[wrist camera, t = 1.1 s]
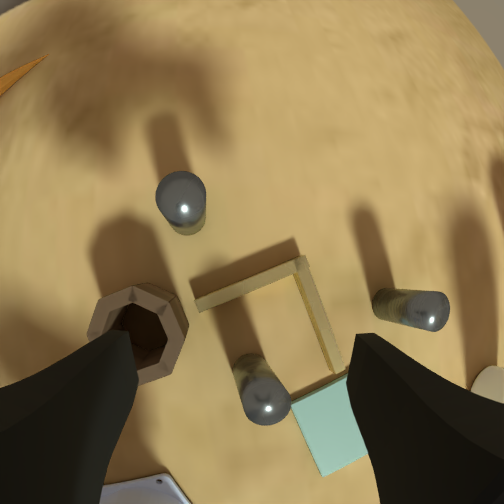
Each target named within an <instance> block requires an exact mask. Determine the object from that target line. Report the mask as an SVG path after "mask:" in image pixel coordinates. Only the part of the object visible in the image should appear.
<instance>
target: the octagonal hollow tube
mask: <svg viewBox="0 0 504 504" xmlns="http://www.w3.org/2000/svg"><path fill="white" fill-rule="evenodd" d="M130 303H135V304H137V305H139V306H141V307H143V308H146V309H148V310H150V311H152V312H154V313H157V314H158V317H159V319H160V321H161V324H162V326H163V328H164V330H165V333H166V335H167V337H168V341H167V344H166V345H165V346H162V347H159V348H157V349H154V350H151V351H148V350H146V349H144V348H142V347H139V346H137V345H135V344H133V343H131V346H132V351H133V356H134V360H135V364H136V369H137V373H138V377H139V383H138V386H139V385H142V384H145V383H148V382H151V381H154V380H156V379H159V378H162V377H165V376H168V375H170V374H172V371H173V369H174V366H175V364H176V361H177V359H178V356H179V354H180V351H181V349H182V346H183V344H184V341H185V338H186V335H187V331H188V328H189V323H188V321H187V319H186V316H185V314H184V312H183V309H182V307H181V304H180V302H179V300H178V297H177V296H176V295H174V294H172V293H170V292H168V291H165V290H163V289H161V288H159V287H156V286H154V285H152V284H150V283H144V284H139V285H133V286H130V287H128V288H125V289H123V290H120V291H118V292H115V293H113V294H111V295H108V296H106V297H103V298H101V299H99V300H98V302H97V305H96V308H95V311H94V313H93V316H92V319H91V322H90V325H89V328H88V331H87V334H88V335H87V337H88V339H89V341H90V342H91V341H93V340H94V339H96V338H98V337H99V336H101V335H103V334H105V333H106V332H108V331H110V330H119V331H125V329H124V327H123V324H122V321H123V319H124V316H125V313H126V310H127V308H128V305H129V304H130Z"/></svg>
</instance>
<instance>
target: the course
mask: <svg viewBox="0 0 504 504" xmlns="http://www.w3.org/2000/svg"><path fill="white" fill-rule="evenodd" d="M156 204H157V206H158V208H159V210H160V211H161V213H162V214H163V216H164V217H165V218H166V220H167V221H168V222H169V224H170V225H171V227H172V228H173V229H174V230H175V231H176V232H177V233H179V234H181V235H193V234H195V233H197V232H199V231H200V230H201V229H202V227H203V226H204V223H205V220H206V189H205V186H204V184H203V182H202V181H201V180H200V178H199V177H197V176H196V175H195V174H193V173H190V172H187V171H177V172H173V173H171V174H169V175H167V176H166V177H164V178H163V179H162V180H161V182H160V183H159V185H158V187H157V190H156ZM309 267H310V266H309V263H308V261H307V258H306V255H302V256H298V257H296V258H294V259H291V260H289V261H286V262H284V263H282V264H279V265H277V266H274V267H272V268H270V269H267V270H265V271H262V272H260V273H258V274H255V275H253V276H250V277H248V278H246V279H243V280H241V281H238V282H236V283H233V284H231V285H228V286H226V287H224V288H221V289H219V290H216V291H214V292H211V293H209V294H206V295H204V296H201V297H199V298H196V299H195V300H194V301H195V304H196V306H197V309H198V311H199V313H200V312H203V311H205V310H208V309H210V308H213V307H215V306H218V305H220V304H222V303H225V302H227V301H230V300H232V299H235V298H237V297H240V296H242V295H244V294H247V293H249V292H252V291H254V290H256V289H259V288H261V287H263V286H266V285H268V284H271V283H273V282H275V281H278V280H280V279H282V278H285V277H287V276H289V275H292V274H293V275H294V278H295V280H296V283H297V285H298V288H299V290H300V293H301V296H302V298H303V301H304V303H305V306H306V309H307V311H308V314H309V316H310V319H311V322H312V324H313V327H314V330H315V332H316V335H317V337H318V340H319V343H320V345H321V348H322V351H323V354H324V356H325V359H326V362H327V364H328V367H329V370H331V371H332V372H333V373H335V374H337V373H339V372H341V371H343V370H345V369H346V368H345V365H344V362H343V359H342V356H341V354H340V351H339V348H338V345H337V342H336V340H335V337H334V334H333V331H332V328H331V326H330V323H329V320H328V317H327V315H326V312H325V309H324V307H323V304H322V301H321V299H320V296H319V293H318V291H317V288H316V285H315V283H314V280H313V278H312V275H311V272H310V270H309ZM372 307H373V312H374V314H375V315H376V317H378V318H379V319H381V320H385V321H389V322H394V323H398V324H402V325H406V326H410V327H414V328H419V329H423V330H427V331H431V332H436V331H439V330H440V329H442V328H443V327H444V325H445V324H446V322H447V320H448V318H449V313H450V304H449V300H448V298H447V296H446V295H445V294H444V293H442V292H438V291H422V290H407V289H392V288H384V289H381V290H380V291H378V292H377V294H376V295H375V297H374V299H373V304H372ZM233 375H234V379H235V382H236V385H237V389H238V392H239V395H240V399H241V402H242V405H243V408H244V412H245V414H246V416H247V417H248V419H249V420H251V421H252V422H253V423H255V424H258V425H273V424H276V423H278V422H280V421H281V420H282V419H284V418H285V417H286V416H287V414H288V413H289V411H290V408H291V397H290V395H289V393H288V391H287V390H286V389H285V387H284V386H283V385H282V383H281V382H280V380H279V379H278V378H277V376H276V375H275V373H274V372H273V371H272V369H271V368H270V366H269V365H268V364H267V362H266V361H265V359H264V358H262V357H261V356H259V355H257V354H246V355H243V356H241V357H240V358H239V359H238V360H237V361H236V362H235V364H234V367H233Z"/></svg>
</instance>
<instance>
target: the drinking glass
mask: <svg viewBox="0 0 504 504" xmlns="http://www.w3.org/2000/svg"><path fill="white" fill-rule="evenodd" d="M471 392H473V393H475V394H478V395H480V396H483V397H486V398H488V399H491V400H494V401H497V402H500V403H504V368H503V367H499V366H494V365H493V366H489V367H486V368H485V369H484V370H482V371H481V373H480V374H479V375H478V376H477V378H476V379H475V381H474V383H473V385H472V388H471Z"/></svg>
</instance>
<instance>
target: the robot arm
mask: <svg viewBox="0 0 504 504" xmlns="http://www.w3.org/2000/svg"><path fill="white" fill-rule="evenodd" d="M138 383H139V377H138V373H137V369H136V364H135V360H134V356H133V351H132V346H131V341H130V336H129V331H119V330H110V331H108V332H106V333H105V334H103V335H101V336H99V337H98V338H96V339H94V340H93V341H91V342H90V343H88V344H86V345H85V346H83V347H81V348H80V349H78V350H77V351H75V352H73V353H72V354H70V355H69V356H67V357H65V358H63V359H62V360H60V361H58V362H56V363H55V364H53V365H51V366H49V367H47V368H46V369H44V370H42V371H40V372H38V373H36V374H34V375H32V376H30V377H28V378H25V379H23V380H21V381H18V382H16V383H14V384H11V385H8V386H5V387H2V388H0V504H191V503H190V501H189V500H188V499H187V497H186V496H185V495H184V494H183V492H182V491H181V489H180V488H179V487H178V485H177V484H176V483H175V481H174V480H173V478H172V477H171V476H170V475H169V474H166V473H162V474H158V475H154V476H150V477H145V478H141V479H136V480H131V481H126V482H121V483H115V484H110V485H103V483H104V479H105V475H106V471H107V467H108V464H109V461H110V458H111V456H112V453H113V451H114V448H115V446H116V443H117V441H118V439H119V436H120V434H121V432H122V429H123V427H124V425H125V422H126V420H127V417H128V415H129V413H130V410H131V408H132V405H133V402H134V398H135V395H136V391H137V387H138ZM346 386H347V391H348V396H349V400H350V405H351V409H352V411H353V414H354V417H355V420H356V422H357V425H358V428H359V430H360V433H361V436H362V438H363V441H364V444H365V446H366V449H367V452H368V454H369V457H370V460H371V463H372V466H373V470H374V474H375V478H376V483H377V488H378V493H379V498H380V504H504V403H500V402H497V401H494V400H491V399H488V398H486V397H483V396H480V395H478V394H475V393H473V392H471V391H468V390H466V389H464V388H462V387H460V386H458V385H456V384H454V383H452V382H450V381H448V380H446V379H444V378H443V377H441V376H439V375H437V374H436V373H434V372H432V371H431V370H429V369H427V368H426V367H424V366H423V365H421V364H420V363H418V362H417V361H415V360H414V359H412V358H411V357H409V356H408V355H406V354H405V353H403V352H402V351H400V350H399V349H398V348H396V347H395V346H393V345H392V344H390V343H389V342H387V341H386V340H384V339H383V338H381V337H380V336H378V335H376V334H375V333H364V334H356V336H355V342H354V347H353V352H352V357H351V362H350V366H349V371H348V375H347V380H346ZM157 479H160V480H162V481H158V480H157Z"/></svg>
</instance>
